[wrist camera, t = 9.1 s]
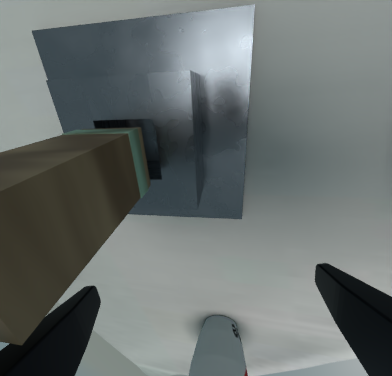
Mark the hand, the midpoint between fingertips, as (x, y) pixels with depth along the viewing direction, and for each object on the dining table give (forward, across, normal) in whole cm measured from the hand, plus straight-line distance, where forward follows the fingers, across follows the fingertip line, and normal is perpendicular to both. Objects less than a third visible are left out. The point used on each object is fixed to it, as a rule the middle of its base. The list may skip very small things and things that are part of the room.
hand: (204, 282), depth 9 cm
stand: (+14, +4, -6) cm, 15 cm away
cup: (+17, 0, +25) cm, 30 cm away
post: (+8, +5, -5) cm, 10 cm away
